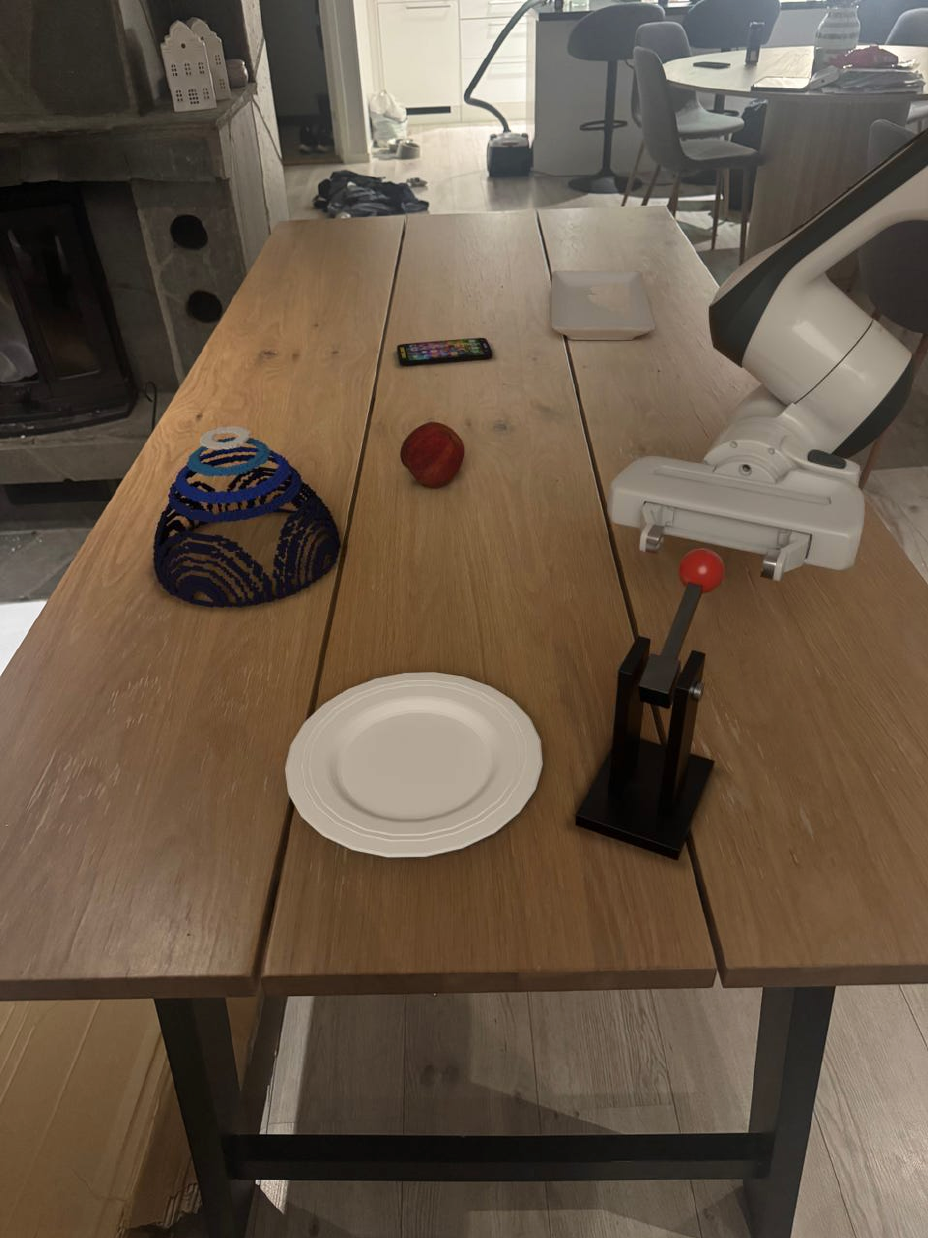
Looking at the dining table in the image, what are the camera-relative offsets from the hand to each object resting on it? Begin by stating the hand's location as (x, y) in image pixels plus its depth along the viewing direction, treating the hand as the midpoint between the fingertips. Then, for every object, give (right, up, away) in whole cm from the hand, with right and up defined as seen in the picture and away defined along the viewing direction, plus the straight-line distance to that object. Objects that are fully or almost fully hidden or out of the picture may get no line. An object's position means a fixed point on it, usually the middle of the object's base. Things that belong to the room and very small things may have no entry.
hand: (708, 558), depth 71 cm
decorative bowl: (-43, +2, +33) cm, 54 cm away
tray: (+5, +49, +93) cm, 105 cm away
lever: (-2, -6, -2) cm, 6 cm away
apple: (-22, +12, +45) cm, 52 cm away
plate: (-23, -17, +5) cm, 29 cm away
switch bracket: (-4, -19, +2) cm, 19 cm away
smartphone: (-22, +38, +80) cm, 91 cm away
